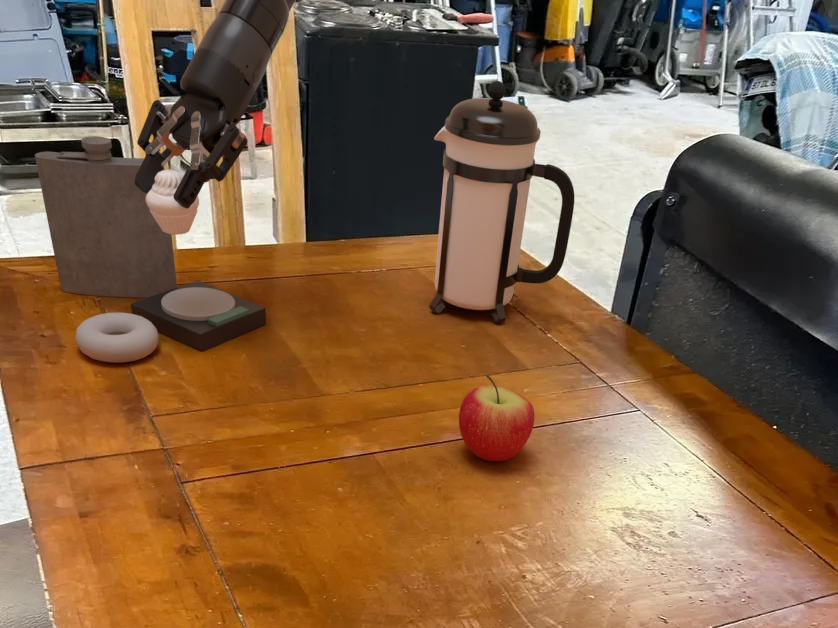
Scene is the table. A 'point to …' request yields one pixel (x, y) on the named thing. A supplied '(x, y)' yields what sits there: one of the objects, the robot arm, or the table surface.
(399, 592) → the table surface
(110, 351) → the donut
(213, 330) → the scale
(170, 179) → the muffin
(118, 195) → the hip flask
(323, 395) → the table surface
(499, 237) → the coffee press
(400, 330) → the table surface
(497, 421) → the apple
